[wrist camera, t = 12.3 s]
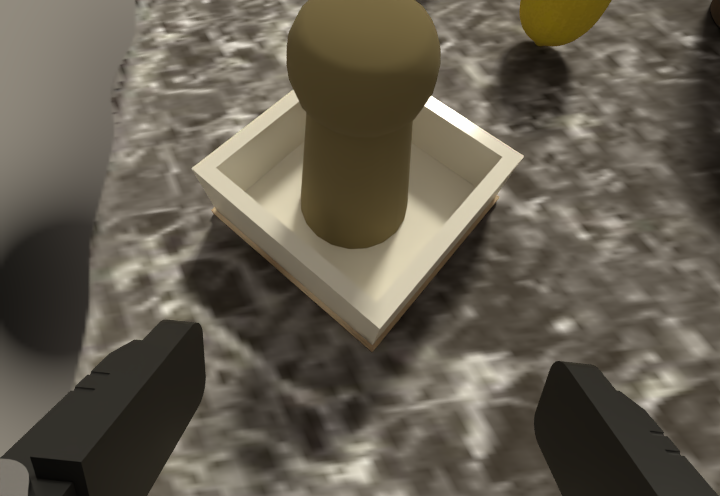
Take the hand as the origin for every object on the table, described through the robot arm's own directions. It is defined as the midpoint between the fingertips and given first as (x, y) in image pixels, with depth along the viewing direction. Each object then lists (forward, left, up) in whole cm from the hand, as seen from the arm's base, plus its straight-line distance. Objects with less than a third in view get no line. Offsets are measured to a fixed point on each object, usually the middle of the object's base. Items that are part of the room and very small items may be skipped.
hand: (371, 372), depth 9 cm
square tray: (+7, -8, -10) cm, 15 cm away
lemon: (+6, -28, -11) cm, 31 cm away
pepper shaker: (+7, -8, -10) cm, 14 cm away
